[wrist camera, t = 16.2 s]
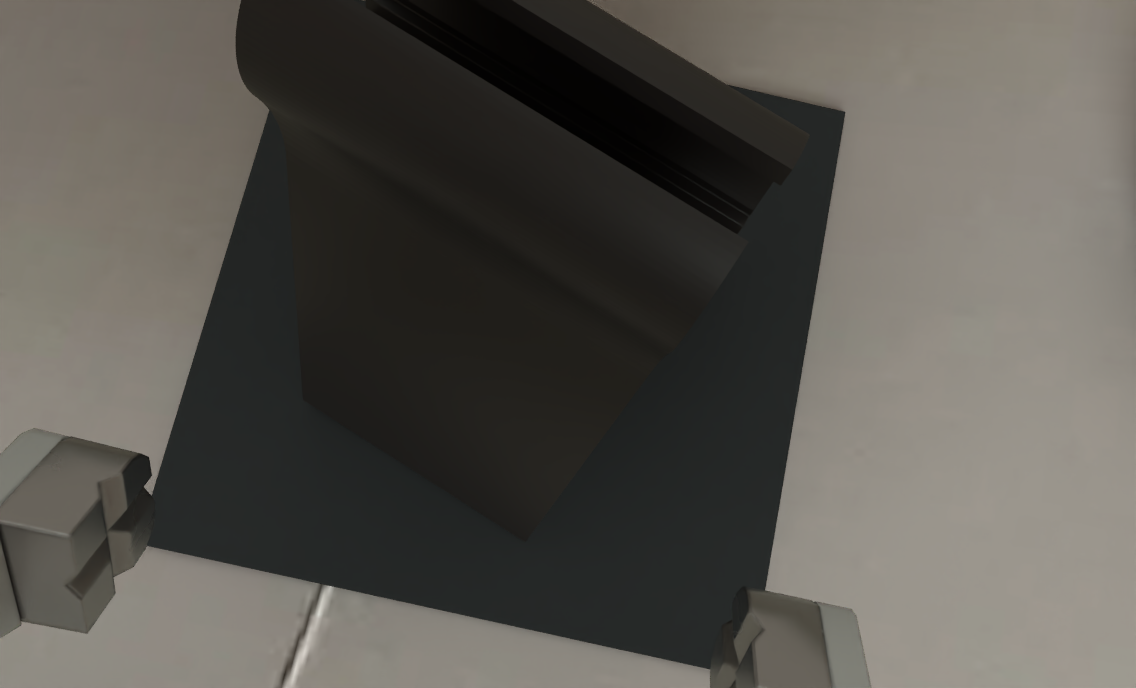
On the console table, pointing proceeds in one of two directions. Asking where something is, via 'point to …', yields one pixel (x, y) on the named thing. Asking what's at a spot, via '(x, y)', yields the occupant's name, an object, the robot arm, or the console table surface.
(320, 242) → the phone stand
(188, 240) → the console table surface
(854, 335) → the console table surface
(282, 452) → the mat
